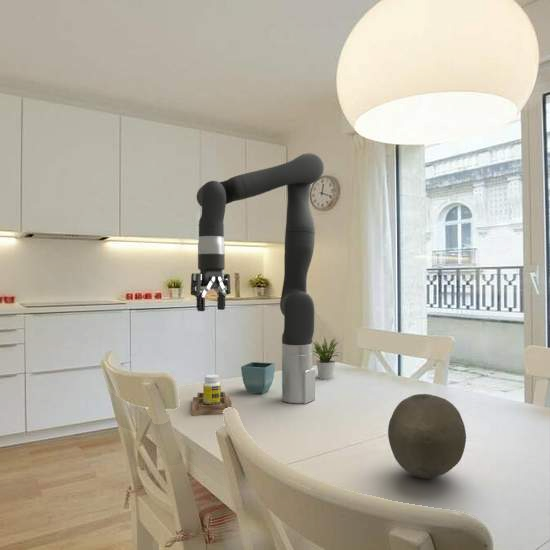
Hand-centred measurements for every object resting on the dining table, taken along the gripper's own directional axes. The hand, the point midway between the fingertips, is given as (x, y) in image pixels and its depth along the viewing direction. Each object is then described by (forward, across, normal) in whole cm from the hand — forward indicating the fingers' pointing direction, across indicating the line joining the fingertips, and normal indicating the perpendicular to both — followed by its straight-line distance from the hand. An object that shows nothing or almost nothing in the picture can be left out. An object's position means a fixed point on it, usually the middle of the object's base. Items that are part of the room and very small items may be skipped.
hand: (211, 310), depth 129 cm
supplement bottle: (+27, 0, 0) cm, 27 cm away
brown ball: (+28, -12, -63) cm, 70 cm away
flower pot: (+28, +24, +1) cm, 37 cm away
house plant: (+28, +56, -9) cm, 64 cm away
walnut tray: (+28, +2, +2) cm, 28 cm away
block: (+27, +6, +5) cm, 28 cm away
